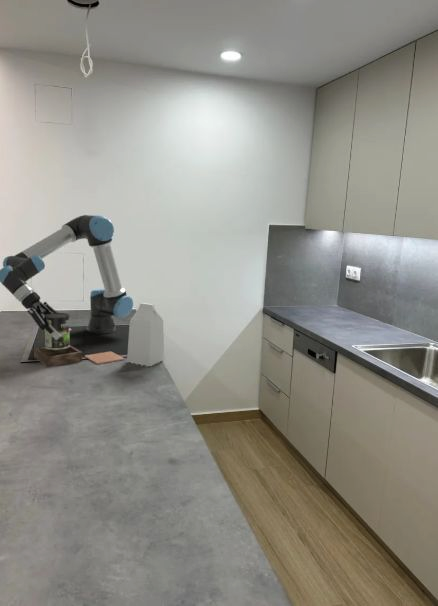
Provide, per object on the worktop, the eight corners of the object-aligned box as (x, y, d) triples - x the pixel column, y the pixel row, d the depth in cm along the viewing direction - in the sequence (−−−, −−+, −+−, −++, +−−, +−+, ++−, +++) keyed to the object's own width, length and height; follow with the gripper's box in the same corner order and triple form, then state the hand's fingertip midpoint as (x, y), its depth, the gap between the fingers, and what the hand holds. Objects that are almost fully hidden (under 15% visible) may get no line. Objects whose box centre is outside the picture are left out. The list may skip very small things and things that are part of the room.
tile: (110, 352, 215) (110, 351, 215) (124, 359, 206) (124, 358, 205) (84, 356, 207) (84, 355, 207) (97, 364, 197) (97, 363, 197)
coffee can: (74, 344, 205) (73, 313, 202) (62, 351, 195) (61, 318, 192) (53, 342, 207) (52, 311, 204) (40, 348, 197) (39, 316, 194)
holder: (68, 352, 212) (68, 343, 212) (82, 361, 201) (82, 352, 200) (34, 357, 203) (34, 348, 202) (46, 366, 191) (46, 357, 190)
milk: (164, 360, 208) (165, 303, 203) (150, 366, 198) (151, 307, 193) (141, 355, 213) (142, 300, 208) (126, 362, 202) (127, 304, 198)
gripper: (34, 298, 209) (68, 333, 211) (7, 307, 187) (46, 347, 189) (45, 287, 208) (79, 323, 210) (19, 295, 186) (58, 335, 188)
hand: (64, 334), depth 199 cm, fingers closed on coffee can, 10 cm apart
